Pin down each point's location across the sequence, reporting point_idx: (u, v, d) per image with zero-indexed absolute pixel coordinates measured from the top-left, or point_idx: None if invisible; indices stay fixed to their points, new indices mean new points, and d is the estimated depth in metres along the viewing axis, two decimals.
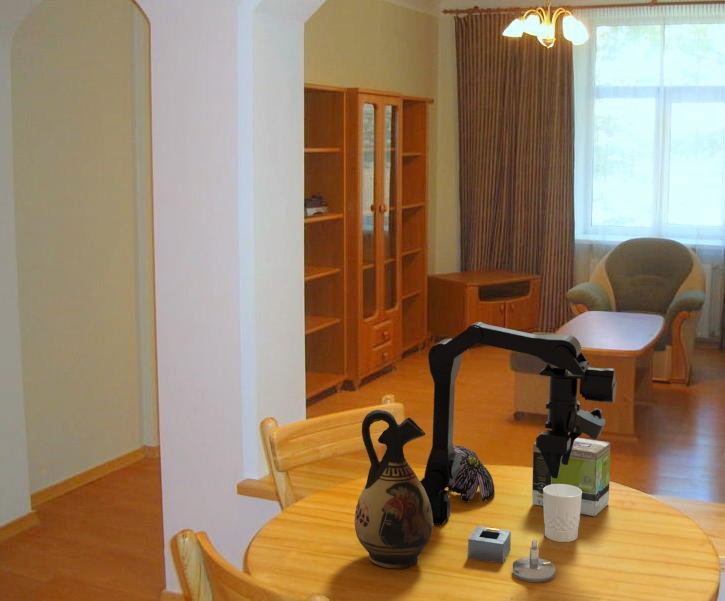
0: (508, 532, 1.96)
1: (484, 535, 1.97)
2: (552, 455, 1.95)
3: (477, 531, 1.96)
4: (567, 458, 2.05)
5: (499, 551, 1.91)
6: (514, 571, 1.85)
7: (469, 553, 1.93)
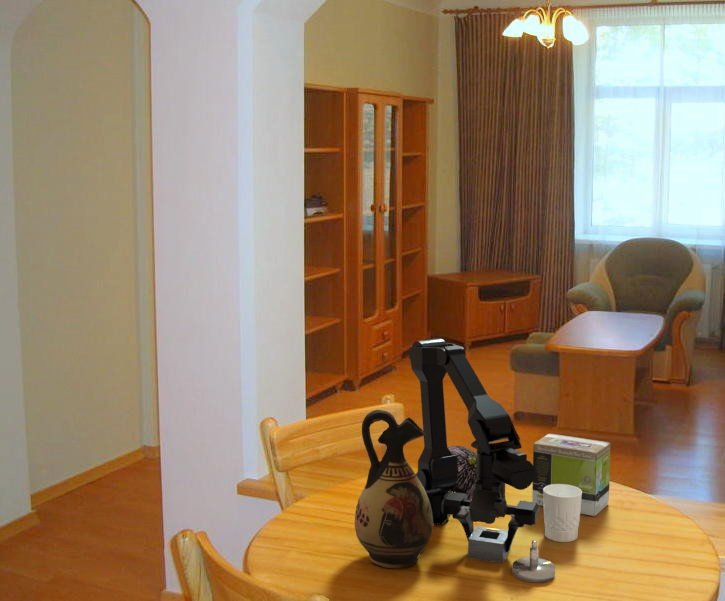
0: None
1: (484, 535, 1.97)
2: None
3: (477, 531, 1.96)
4: (506, 545, 1.93)
5: (499, 551, 1.91)
6: (514, 571, 1.85)
7: (469, 553, 1.93)
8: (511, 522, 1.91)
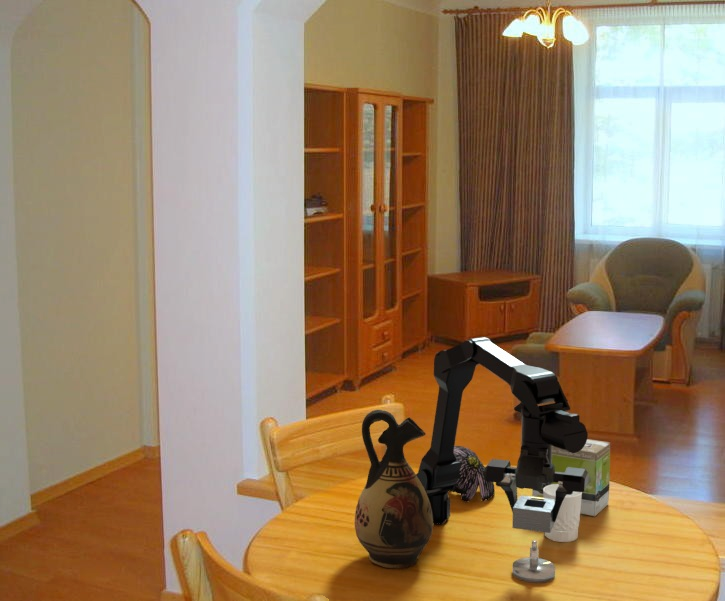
0: (554, 501, 1.85)
1: (529, 504, 1.86)
2: None
3: (521, 500, 1.86)
4: (553, 514, 1.83)
5: (546, 520, 1.80)
6: (514, 571, 1.85)
7: (514, 522, 1.82)
8: (559, 489, 1.80)
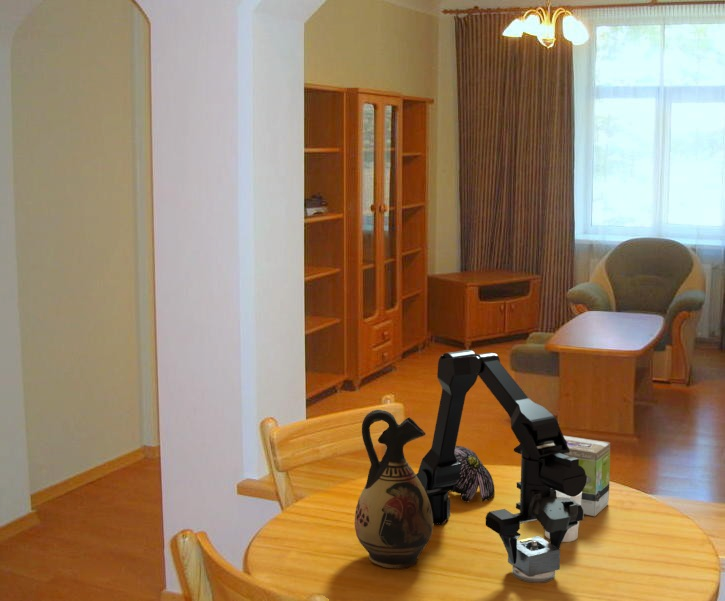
0: (540, 538, 1.89)
1: None
2: (507, 537, 1.83)
3: (519, 546, 1.85)
4: None
5: (556, 558, 1.84)
6: (514, 571, 1.85)
7: (530, 571, 1.82)
8: None
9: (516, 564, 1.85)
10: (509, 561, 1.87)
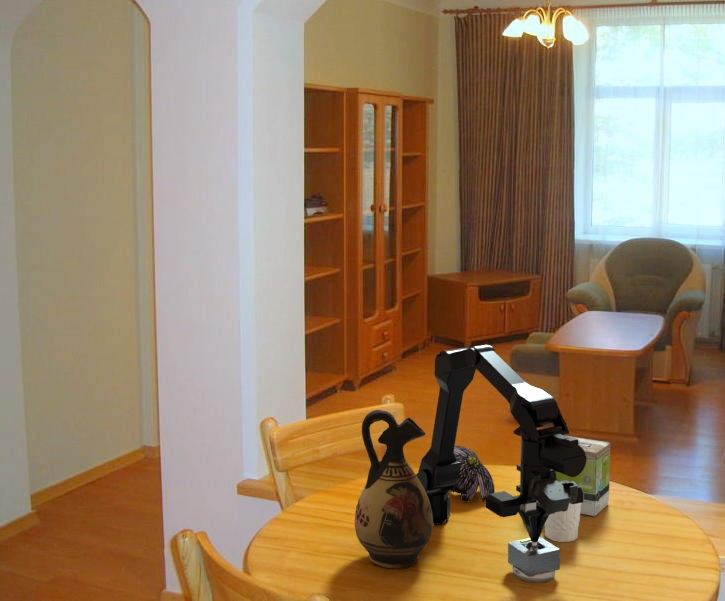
0: (540, 538, 1.89)
1: None
2: (527, 516, 1.84)
3: (519, 546, 1.85)
4: None
5: (556, 558, 1.84)
6: (514, 571, 1.85)
7: (530, 571, 1.82)
8: None
9: (516, 564, 1.85)
10: (509, 561, 1.87)
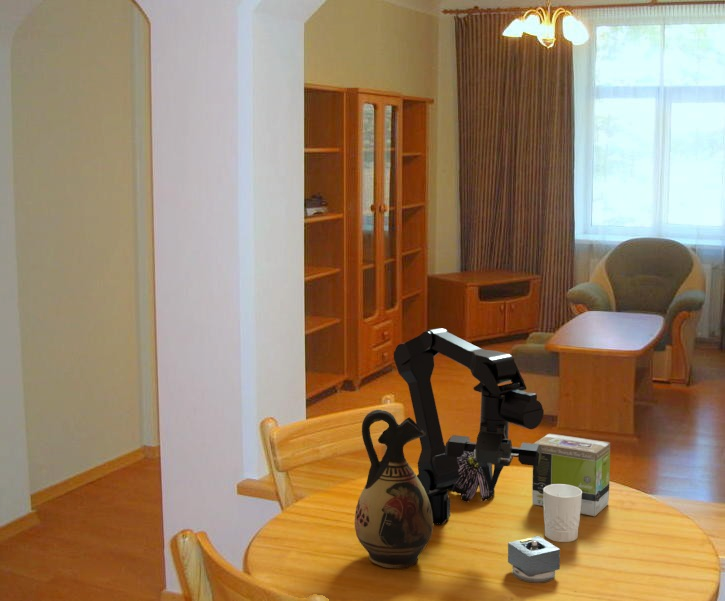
0: (540, 538, 1.89)
1: None
2: None
3: (519, 546, 1.85)
4: (491, 484, 1.97)
5: (556, 558, 1.84)
6: (514, 571, 1.85)
7: (530, 571, 1.82)
8: None
9: (516, 564, 1.85)
10: (509, 561, 1.87)
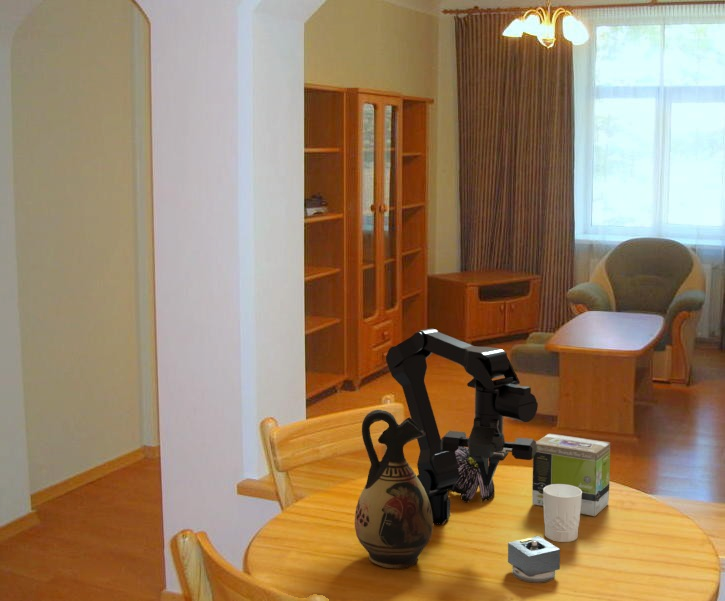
0: (540, 538, 1.89)
1: None
2: None
3: (519, 546, 1.85)
4: None
5: (556, 558, 1.84)
6: (514, 571, 1.85)
7: (530, 571, 1.82)
8: (491, 456, 1.96)
9: (516, 564, 1.85)
10: (509, 561, 1.87)
